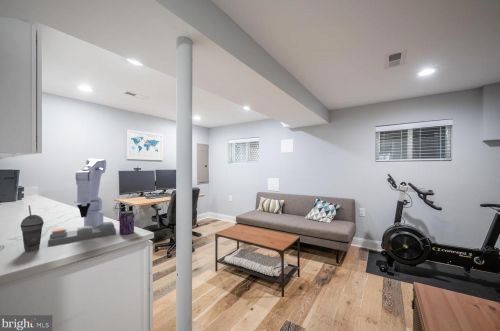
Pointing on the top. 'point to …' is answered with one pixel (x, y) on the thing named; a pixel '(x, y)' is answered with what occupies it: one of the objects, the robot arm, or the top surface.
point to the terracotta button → (58, 230)
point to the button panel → (80, 234)
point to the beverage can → (126, 222)
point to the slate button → (106, 223)
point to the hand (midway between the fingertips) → (83, 217)
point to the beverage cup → (31, 231)
